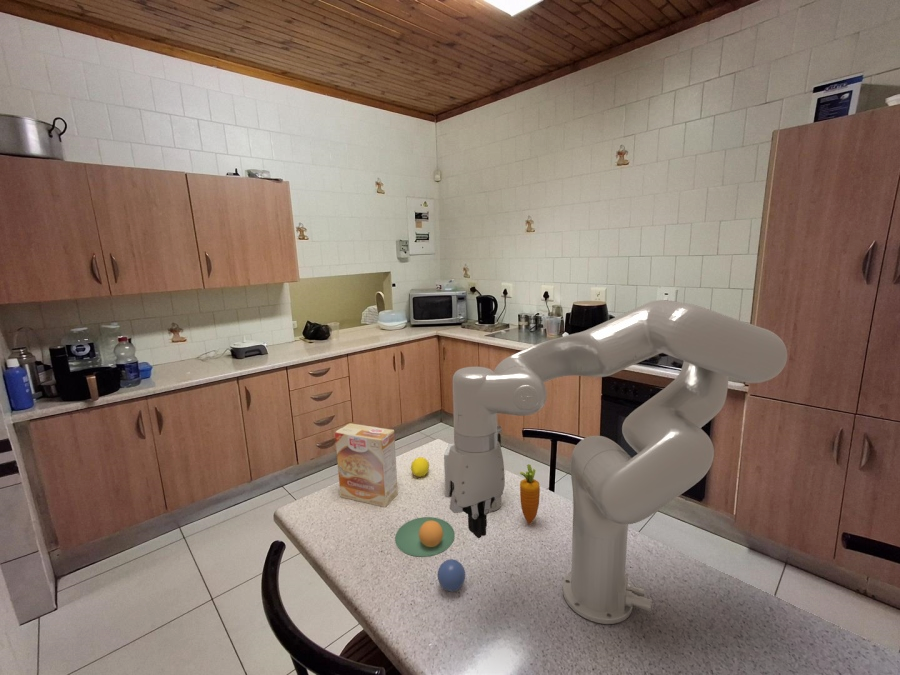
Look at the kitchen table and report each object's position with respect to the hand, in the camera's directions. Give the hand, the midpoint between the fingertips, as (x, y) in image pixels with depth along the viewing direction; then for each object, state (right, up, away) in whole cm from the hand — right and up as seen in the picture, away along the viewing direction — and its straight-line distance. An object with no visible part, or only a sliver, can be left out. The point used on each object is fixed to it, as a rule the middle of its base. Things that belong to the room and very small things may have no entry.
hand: (477, 532), depth 74 cm
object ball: (-9, -9, +19) cm, 23 cm away
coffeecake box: (-28, -9, +40) cm, 50 cm away
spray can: (+5, -9, +34) cm, 36 cm away
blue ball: (-5, -12, +6) cm, 14 cm away
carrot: (+15, -10, +26) cm, 31 cm away
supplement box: (-2, -8, +41) cm, 42 cm away
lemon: (-14, -7, +51) cm, 53 cm away
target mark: (-11, -12, +22) cm, 28 cm away
